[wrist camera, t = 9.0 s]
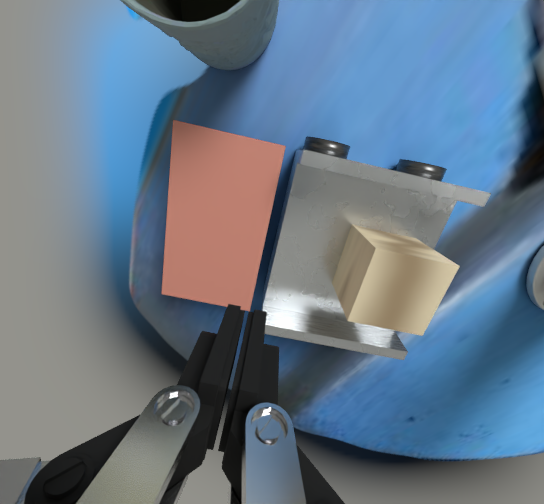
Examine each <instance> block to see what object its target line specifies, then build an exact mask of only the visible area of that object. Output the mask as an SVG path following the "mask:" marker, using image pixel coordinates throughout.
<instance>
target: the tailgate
mask: <svg viewBox="0 0 544 504" xmlns="http://www.w3.org/2000/svg"><path fill="white" fill-rule="evenodd" d="M285 147H286V146H283V145H279V144H275V143H270V142H266V141H262V140H257V139H253V138H249V137H245V136H240V135H236V134H232V133H228V132H223V131H219V130H215V129H210V128H206V127H202V126H198V125H193V124H189V123H185V122H181V121H176V120H173V130H172V145H171V160H170V175H169V190H168V205H167V220H166V235H165V250H164V266H163V281H162V294H164V295H169V296H174V297H179V298H184V299H190V300H195V301H200V302H205V303H210V304H215V305H220V306H225V307H227V306H228V304H232V305H237V306H241V310H246V311H250V307H251V303H252V298H253V294H254V289H255V284H256V280H257V275H258V271H259V266H260V262H261V257H262V252H263V248H264V243H265V239H266V234H267V230H268V225H269V220H270V216H271V211H272V207H273V202H274V197H275V193H276V188H277V184H278V179H279V175H280V170H281V165H282V161H283V156H284V152H285Z"/></svg>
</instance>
